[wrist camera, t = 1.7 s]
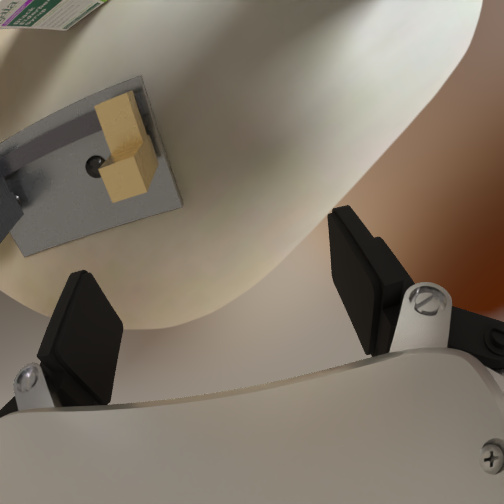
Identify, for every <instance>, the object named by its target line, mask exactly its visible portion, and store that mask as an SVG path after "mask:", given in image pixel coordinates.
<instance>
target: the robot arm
mask: <svg viewBox="0 0 504 504" xmlns="http://www.w3.org/2000/svg"><path fill="white" fill-rule="evenodd" d="M328 227H329V240H330V252H331V253H330V254H331V270H332V278H333V282H334V284H335V286H336V288H337V291H338V293H339V295H340V297H341V299H342V302H343V304H344V306H345V308H346V311H347V313H348V315H349V317H350V319H351V322H352V324H353V326H354V329H355V331H356V333H357V335H358V338H359V340H360V342H361V345H362V347H363V349H364V352H365V354H366V355H369V354H371V355H372V357H371V358H367V359H363V360H359V361H356V362H352V363H349V364H345V365H341V366H337V367H334V368H330V369H326V370H322V371H317V372H314V373H309V374H305V375H301V376H297V377H293V378H288V379H284V380H279V381H275V382H271V383H265V384H260V385H255V386H250V387H245V388H240V389H234V390H228V391H222V392H216V393H210V394H204V395H197V396H190V397H184V398H175V399H167V400H158V401H148V402H138V403H127V404H114V405H108V403H110V401H111V395H112V389H113V382H114V376H115V370H116V365H117V359H118V353H119V348H120V343H121V338H122V333H123V324H122V321H121V320H120V318H119V317H118V315H117V314H116V312H115V311H114V309H113V307H112V306H111V304H110V303H109V301H108V300H107V298H106V296H105V295H104V293H103V292H102V290H101V288H100V287H99V285H98V283H97V282H96V280H95V278H94V277H93V275H92V274H91V273H88V272H87V271H86V270H81V271H78V272H74V273H71V274H70V276H69V278H68V280H67V282H66V285H65V287H64V289H63V291H62V294H61V296H60V298H59V300H58V303H57V305H56V308H55V310H54V312H53V315H52V317H51V320H50V322H49V325H48V327H47V330H46V332H45V335H44V338H43V340H42V343H41V346H40V348H39V351H38V354H37V357H38V358H39V359H40V361H41V363H40V365H38V364H37V363H30V364H27V365H26V366H24V367H23V368H22V369H21V370H20V371H19V373H18V374H17V375H16V378H15V380H14V384H13V385H14V393H15V396H14V397H13V398H12V399H11V400H10V401H9V402H8V403H7V404H6V405H5V406H4V407H3V408H2V409H1V410H0V504H504V322H502V321H499V320H495V319H492V318H489V317H486V316H482V315H479V314H476V313H473V312H469V311H467V310H463V309H460V308H457V307H453V306H452V301H451V297H450V295H449V293H448V292H447V291H446V290H445V289H444V288H442V287H441V286H439V285H437V284H434V283H426V282H422V283H417V284H415V283H414V282H413V280H412V279H411V277H410V276H409V275H408V273H407V272H406V270H405V269H404V268H403V266H402V265H401V263H400V262H399V261H398V260H397V258H396V256H395V255H394V254H393V252H392V251H391V250H390V248H389V247H388V246H387V244H386V243H385V242H384V240H383V239H382V238H381V237H375V238H374V237H373V236H372V235H371V233H370V232H369V231H368V229H367V228H366V227H365V225H364V224H363V223H362V221H361V220H360V219H359V217H358V216H357V215H356V213H355V212H354V211H353V210H352V208H351V207H350V206H349V205H347V206H342V207H337V208H333V209H332V213H330V214H328Z"/></svg>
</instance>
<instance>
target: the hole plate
mask: <svg viewBox="0 0 504 504" xmlns="http://www.w3.org/2000/svg"><path fill="white" fill-rule="evenodd" d="M132 90H133V93H134V97H135V100H136V103H137V106H138V109H139V112H140V115H141V119H142V122H143V125H144V128H145V131H146V134H147V135H148V134H149V136H150V139H151V142H152V145H153V148H154V151H155V153H156V156H157V159H158V162H159V165H158V167H157V169H156V172H155V174H154V177H153V179H152V181H151V184H150V186H149V189H148V191H147V192H146V193H143V194H140V195H137V196H133V197H130V198H127V199H124V200H121V201H118V202H115V203H112V201H111V198H110V196H109V194H108V191H107V189H106V187H105V184H104V182H103V180H102V177H101V175H100V172H99V170H98V169H99V168H100V167H101V165H102V164H103V163H104V162H105V161H106V159H107V158H108V157H109V156H110V155H111V152H110V149H109V146H108V144H107V141H106V138H105V136H104V133H103V130H102V127H101V124H100V122H99V119H98V116H97V113H96V110H95V107H94V106H95V105H97V104H99V103H101V102H103V101H106V100H108V99H111V98H113V97H116V96H118V95H121V94H124V93H126V92H129V91H132ZM182 205H183V202H182V199H181V196H180V193H179V190H178V188H177V185H176V182H175V179H174V176H173V173H172V170H171V167H170V164H169V161H168V158H167V155H166V152H165V149H164V146H163V143H162V140H161V137H160V134H159V131H158V128H157V125H156V121H155V118H154V115H153V112H152V109H151V106H150V102H149V99H148V96H147V93H146V89H145V86H144V83H143V79H142V76H139V77H136V78H133V79H130V80H128V81H125V82H122V83H120V84H117V85H115V86H112V87H110V88H107V89H105V90H102V91H100V92H98V93H95V94H93V95H91V96H89V97H86V98H84V99H82V100H80V101H77V102H75V103H73V104H71V105H69V106H67V107H65V108H63V109H61V110H59V111H57V112H55V113H53V114H51V115H49V116H47V117H45V118H43V119H41V120H40V121H38V122H36V123H34V124H32V125H30V126H29V127H27V128H25V129H23V130H22V131H20V132H18V133H17V134H15V135H13V136H12V137H10V138H8V139H7V140H5V141H3V142H2V143H0V243H1V242H2V240H3V239H4V238H5V237H6V235H7V234H8V233H9V232H10V233H11V235H12V237H13V239H14V240H15V242H16V244H17V246H18V247H19V249H20V251H21V252H22V254H23V256H24V257H26V256H29V255H31V254H34V253H37V252H40V251H43V250H46V249H48V248H51V247H54V246H57V245H60V244H63V243H66V242H69V241H72V240H75V239H78V238H81V237H84V236H87V235H90V234H93V233H97V232H100V231H103V230H106V229H109V228H112V227H116V226H119V225H122V224H126V223H129V222H132V221H136V220H139V219H142V218H146V217H149V216H153V215H156V214H160V213H163V212H167V211H170V210H174V209H177V208H181V207H182Z"/></svg>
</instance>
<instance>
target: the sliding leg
mask: <svg viewBox="0 0 504 504" xmlns="http://www.w3.org/2000/svg"><path fill="white" fill-rule="evenodd" d="M94 107H95V110H96V113H97V116H98V119H99V122H100V124H101V127H102V130H103V133H104V136H105V138H106V141H107V144H108V146H109V149H110V152H111V155H110V156H109V157H108V158H107V159H106V161H105V162H104V163H103V164H102V165H101V167H100V168H99V169H98V170H99V172H100V175H101V177H102V180H103V182H104V184H105V187H106V189H107V191H108V194H109V196H110V198H111V201H112V203H115V202H118V201H121V200H124V199H127V198H130V197H133V196H137V195H140V194H143V193H146V192H147V191H148V189H149V186H150V184H151V181H152V179H153V177H154V174H155V172H156V169H157V167H158V165H159V162H158V159H157V156H156V153H155V151H154V148H153V145H152V142H151V139H150V136H149V134H148V135H147V134H146V131H145V128H144V125H143V122H142V119H141V115H140V112H139V109H138V106H137V103H136V100H135V97H134V93H133V90H132V91H129V92H126V93H124V94H121V95H118V96H116V97H113V98H111V99H108V100H106V101H103V102H101V103H99V104H97V105H95V106H94Z"/></svg>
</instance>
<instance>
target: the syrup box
mask: <svg viewBox="0 0 504 504" xmlns="http://www.w3.org/2000/svg"><path fill="white" fill-rule="evenodd" d="M106 1H107V0H0V29H16V28H26V29H51V30H61V31H66V30H68V29H69V28H71V27H72V26H73V25H74V24H76V23H77V22H78V21H80V20H81V19H82V18H84V17H85V16H86V15H88V14H89V13H90V12H92V11H93V10H95V9H96V8H97V7H99V6H100V5H101V4H103V3H104V2H106Z"/></svg>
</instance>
